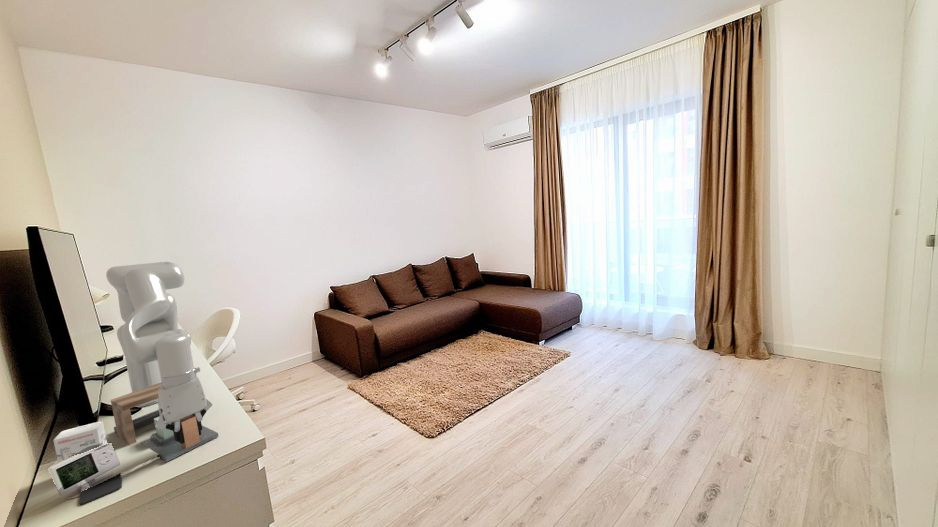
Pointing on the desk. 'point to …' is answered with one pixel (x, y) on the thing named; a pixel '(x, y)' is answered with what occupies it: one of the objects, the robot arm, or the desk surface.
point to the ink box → (79, 440)
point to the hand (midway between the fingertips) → (189, 437)
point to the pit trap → (143, 420)
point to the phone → (101, 490)
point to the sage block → (163, 430)
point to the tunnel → (123, 410)
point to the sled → (173, 449)
